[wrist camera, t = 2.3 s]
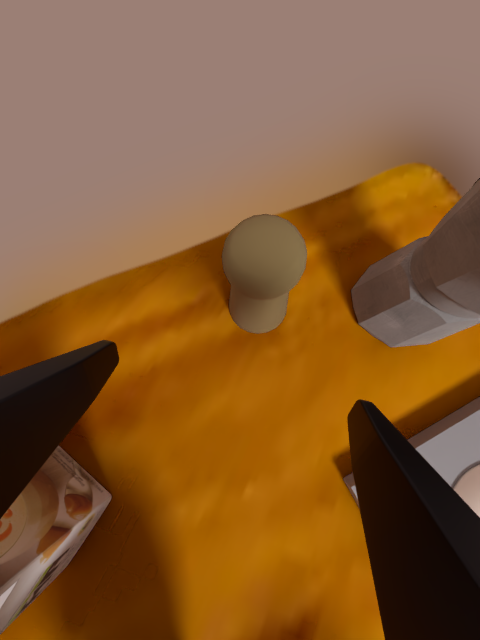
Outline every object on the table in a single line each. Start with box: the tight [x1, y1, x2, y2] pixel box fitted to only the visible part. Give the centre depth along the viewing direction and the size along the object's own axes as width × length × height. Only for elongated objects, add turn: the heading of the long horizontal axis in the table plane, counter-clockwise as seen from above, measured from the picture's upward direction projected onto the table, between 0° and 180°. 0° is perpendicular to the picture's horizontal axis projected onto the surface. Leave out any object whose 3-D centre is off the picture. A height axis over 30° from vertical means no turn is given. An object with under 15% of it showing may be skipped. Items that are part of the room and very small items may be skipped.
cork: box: [222, 214, 307, 334], centre depth 17 cm, size 6×6×11 cm
